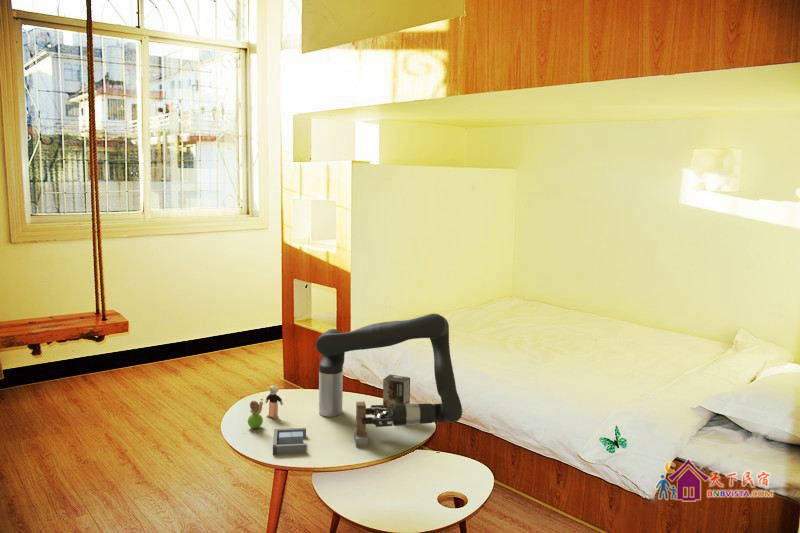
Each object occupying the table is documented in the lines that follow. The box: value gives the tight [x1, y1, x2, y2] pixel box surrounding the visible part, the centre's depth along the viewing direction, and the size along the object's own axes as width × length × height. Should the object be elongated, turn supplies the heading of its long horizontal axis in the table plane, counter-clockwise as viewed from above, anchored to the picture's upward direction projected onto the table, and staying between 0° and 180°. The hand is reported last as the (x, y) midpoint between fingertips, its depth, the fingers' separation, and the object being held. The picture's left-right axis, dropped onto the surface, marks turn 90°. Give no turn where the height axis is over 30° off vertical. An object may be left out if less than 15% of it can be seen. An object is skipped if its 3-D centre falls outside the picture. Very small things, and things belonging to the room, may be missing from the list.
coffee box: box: [382, 374, 411, 409], centre depth 239 cm, size 9×6×16 cm
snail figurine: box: [247, 398, 264, 429], centre depth 226 cm, size 5×6×12 cm
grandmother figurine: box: [264, 385, 284, 420], centre depth 237 cm, size 8×4×13 cm, turn 81°
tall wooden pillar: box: [353, 400, 369, 448], centre depth 217 cm, size 9×4×14 cm, turn 9°
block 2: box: [291, 432, 304, 444], centre depth 214 cm, size 4×4×4 cm
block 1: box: [278, 432, 291, 445], centre depth 213 cm, size 4×4×4 cm
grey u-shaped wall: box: [272, 427, 308, 456], centre depth 214 cm, size 14×11×3 cm
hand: (360, 416), depth 216 cm, fingers open, 8 cm apart
